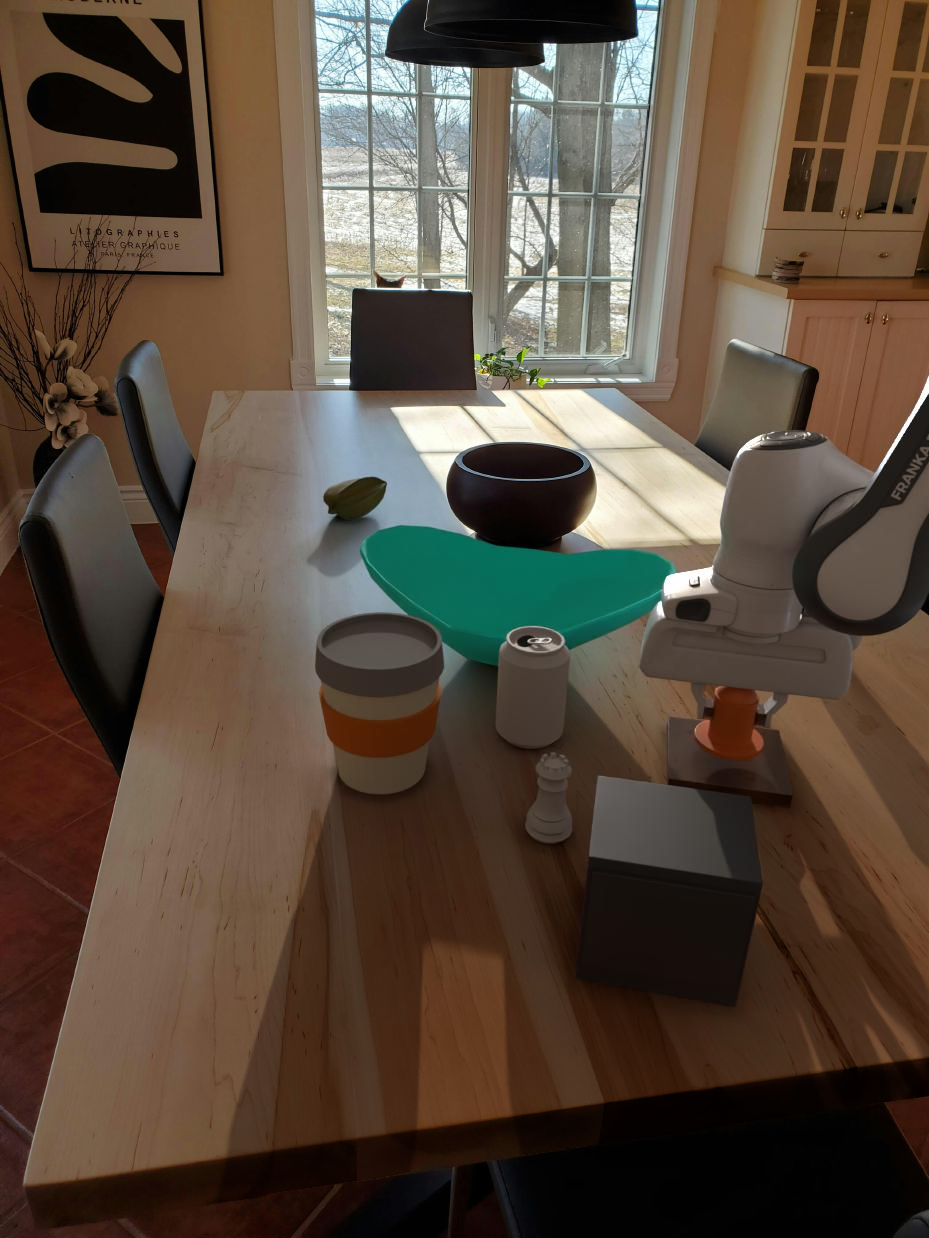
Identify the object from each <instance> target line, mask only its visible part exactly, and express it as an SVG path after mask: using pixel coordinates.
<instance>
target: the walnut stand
mask: <svg viewBox="0 0 929 1238" xmlns="http://www.w3.org/2000/svg"><path fill="white" fill-rule="evenodd" d="M703 721H704V720H702V719H694V718H693V719H692V718H685V717H677V716H670V715H669V716H668V717H667V721H666V722H667V723H666V785H670V786H677V787H684V788H691V789H699V790H706V791H713V792H720V793H727V794H735V795H742V796H749V797H751V800H752V804H762V805H768V806H776V807H781V808H782V807H783V808H791V806H792V801H793V797H794V794H793V790H792V789H793V788H792V783H791V780H790V774H789V771H788V765H787V760H786V756H785V752H784V746H783V741H782V737H781V732H780V729H772V728H766V727H758V726H754V729H755V730H756V731H757V732H758V733H759V734H760V735H761V736H762V738H763V741H764V746H763V750H762V752H761V754H760V755H758V756H757V757H755V758H753V759H749V760H743V761H734V760H727V759H722V758H719V757H716V756H713V755H711V754H709V753H707V752H706V751H704V750H703V749H702V748H700V747H699V746H698V744H697V743H696V741H695V739H694V733H695V729H696V727H697V726H698V725H699V724H700V723H701V722H703Z"/></svg>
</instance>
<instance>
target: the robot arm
mask: <svg viewBox="0 0 929 1238" xmlns="http://www.w3.org/2000/svg"><path fill="white" fill-rule="evenodd" d="M719 528H720V529H719V530H720V545H719V546H718V547H719V548H718V550H717V551H716V553H715V556H714V558H713V561H712V566H710V567H706V568H705V567H704V568H701V569H696V570H691V571H684V572H679V573H677V574H673V575H670V576H668V577H666V579H665V581H664V583H663V587H662V593H661V601H660V602H659V603H657V604H656V605H655V607H654V608H653V610H652V611H650V614H649V617H648V619H647V622H646V626H645V629H644V633H643V637H642V642H641V647H640V653H639V661H638V662H639V663H638V664H639V665H638V666H639V669H640V671H641V673H643V675H644V676H645V677H647V678H649V679H661V680H666V681H667V680H668V681H677V682H685V683H690V691H691V693H692V695H693V698H694V699H695V702H696V704H697V707H696V720H703V721H706V720H712V713H713V710H714V705H713V699H714V698H710V697H706V696H705V694H704V693H705V692H706V689H707V688H706V687H707V685H708V686H709V685H710V686H717V687H720V686H725V687H733V688H741V689H750V690H755V691H759V692H767V693H770V694H771V696H770V697H769V698H768V700H766V702H765V703H764V704H760V703H759V704H758V709H757V714H756V719H755V724H754V727H758V728H766V729H770V727H771V722H772V718H773V715H775V714H776V713H778V711H780V710H781V708H783V706H785V705H786V704H787V703H788V699H789V695H791V696H800V697H807V698H816V699H823V700H824V699H825V700H833V701H838V700H840V699H842V698H843V697H844V696H845V695H847V694H848V693H849V691H850V687H851V681H852V674H853V663H854V651H855V650H856V649H857V648H858V647H859V646H860V645H861V642H862V639H863V637H871V636H873V637H874V636H879V635H883V634H887V633H890V632H892V631H895V630H897V629H899V628H901V627H902V626H904V625H906V624H907V623H908V622H910V621H912V619H914V618H915V616H916V615H917V614H918V613H919V612H920V611H921V609H922V607H923V606H924V604H925V602H926V599H927V597H928V594H929V376H928V377H927V379H926V383H925V384H924V387H923V389H922V392H921V394H920V397H919V398H918V400H917V402H916V404H915V406H914V408H913V409H912V411H911V413H910V414H909V416H908V418H907V420H906V421H905V422H904V425H903V426H902V427H901V430H900V431H899V433H898V435H897V436H896V438H895V439H894V441H893V442H892V445H891V446H890V448H889V449H888V451H887V452H886V455H885V456H884V458H883V459H882V461H881V463H880V464H879V466H878V468H877V469H876V470H875V472H874V471H872V470H870V469H869V468H866V467H864V465H863V466H862V465H860V463H858V462H856V461H854V460H853V459H851V458H850V457H848V456H847V455H845V453H843V452H842V451H841V450H840V449H838V448H837V447H836V446H835V444H834V443H833V442H832V441H831V439H830V438H829V437H827V436H826V435H824V434H822V433H819V432H814V431H809V430H794V429H793V430H791V429H790V430H780V431H772V432H770V433H764V434H760V435H758V436H756V437H755V438H754V437H753V439H750V440H749V441H748V442H746V443H745V445H743V446H742V447H741V448H740V449H739V451H738V452H737V454H736V456H735V458H734V460H733V463H732V466H731V468H730V472H729V476H728V479H727V483H726V486H725V492H724V496H723V500H722V507H721V512H720V518H719Z"/></svg>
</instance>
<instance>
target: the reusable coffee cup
mask: <svg viewBox="0 0 929 1238" xmlns="http://www.w3.org/2000/svg"><path fill="white" fill-rule="evenodd" d="M315 644H316V645H315V646H316V648H315V659H314V670H315V674H316V676H318V678H319V680H320V683H321V684H320V687H319V691H318V695H319V701H320V705H321V711H322V716H323V721H324V726H325V732H326V735H327V738H328V740H329V741H330V742H331V743H332V745H333V751H334V755H335V761H336V766H337V771H338V775H339V777H340V779H341V781H342V782H343V783H344V784H345V785H346V786H348V787H349V788H351V789H352V790H355V791H357V792H361V793H364V794H369V795H390V794H395V793H399V792H400V793H401V792H403V791H405V790H408V789H410V788H412V787H414V786H415V785H416V784H417V783H418V782H419V781H420V780H422V778H423V777H424V774H425V771H426V765H427V759H428V753H429V746H430V741H431V739H433V737H434V735H435V732H436V728H437V724H438V723H437V722H438V717H439V711H440V703H441V698H442V686H441V683H440V677H441V676H442V674H443V672H444V669H445V656H444V648H443V642H442V637H441V634H440V632H439V631H438V630H437V629H436V628H435V627H434V626H433V625H432V624H430V623H429V622H427V621H424V620H422V619H420V618H417V617H414V616H410V615H408V614H406V613H401V612H400V613H398V612H390V611H389V612H388V611H387V612H385V611H383V612H380V611H376V612H364V613H358V614H353V615H349V616H345V617H343V618H339V619H337V620H335V621H333V622H331V623H329V624H327V626H325V627H324V628H323V629H321V631H320V632H319V633H318V635H317V639H316V643H315Z"/></svg>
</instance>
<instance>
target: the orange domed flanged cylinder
mask: <svg viewBox="0 0 929 1238" xmlns="http://www.w3.org/2000/svg"><path fill="white" fill-rule="evenodd" d="M712 699H713V705H714V710H713V713H712V720H702V721H703V722H701V723H700V724H699V725H698V726H697V727H696V729H695V733H694V739H695V741H696V743H697V744H698V746H699V747H700V748H702V749H703V750H704V751H706V752H707V753H709V754H711V755H713V756H716V757H719V758H722V759H727V760H734V761H743V760H749V759H753V758H755V757H757V756H758V755H760V754H761V752H762V750H763V746H764V741H763V738H762V736H761V735H760V734H759V733H758V732H757V731H756V730H755V729H754V727H755V726H754V724H755V719H756V714H757V709H758V704H760V697H759V694H758V693H756V690H750V689H741V688H733V687H725V686H717V687H716V688H715V690H714V693H713V698H712Z"/></svg>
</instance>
